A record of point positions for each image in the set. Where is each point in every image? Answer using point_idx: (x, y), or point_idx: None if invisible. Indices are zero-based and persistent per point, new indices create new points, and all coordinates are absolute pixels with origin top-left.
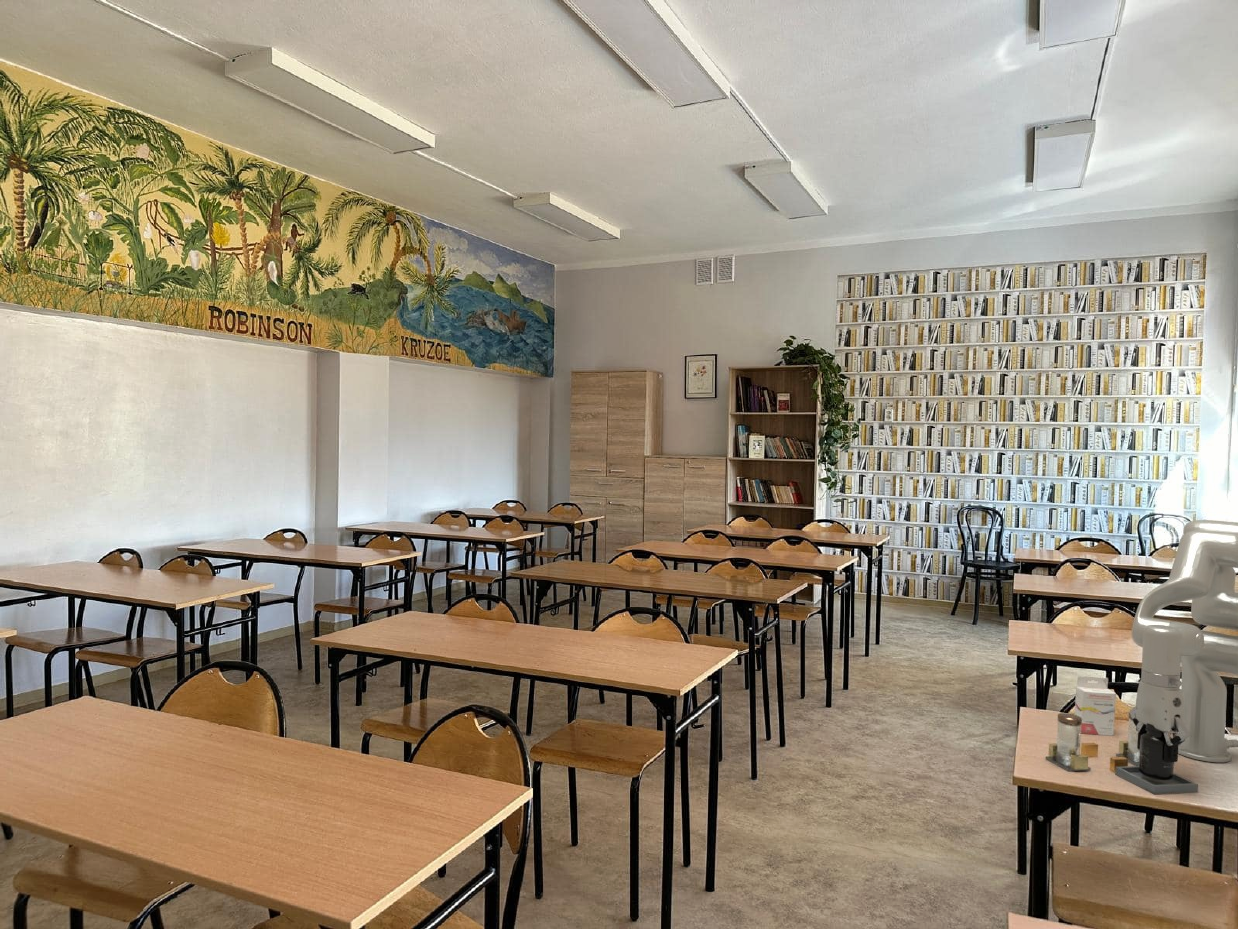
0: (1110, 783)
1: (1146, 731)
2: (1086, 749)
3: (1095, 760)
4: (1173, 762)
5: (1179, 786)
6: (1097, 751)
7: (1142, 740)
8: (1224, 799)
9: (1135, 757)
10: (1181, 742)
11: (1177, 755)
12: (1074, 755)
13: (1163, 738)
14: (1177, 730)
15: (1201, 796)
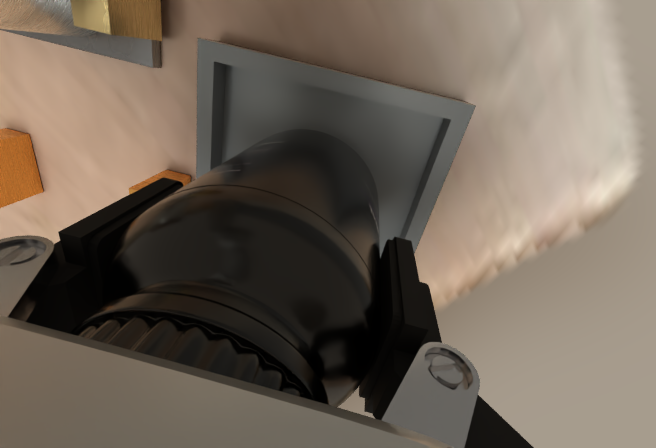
0: None
1: (76, 299)
2: (9, 198)
3: (73, 182)
4: (376, 220)
5: (430, 213)
6: (4, 140)
7: None
8: (593, 49)
9: (75, 32)
10: (512, 441)
11: (431, 299)
12: None
13: None
14: (379, 426)
15: (497, 135)
